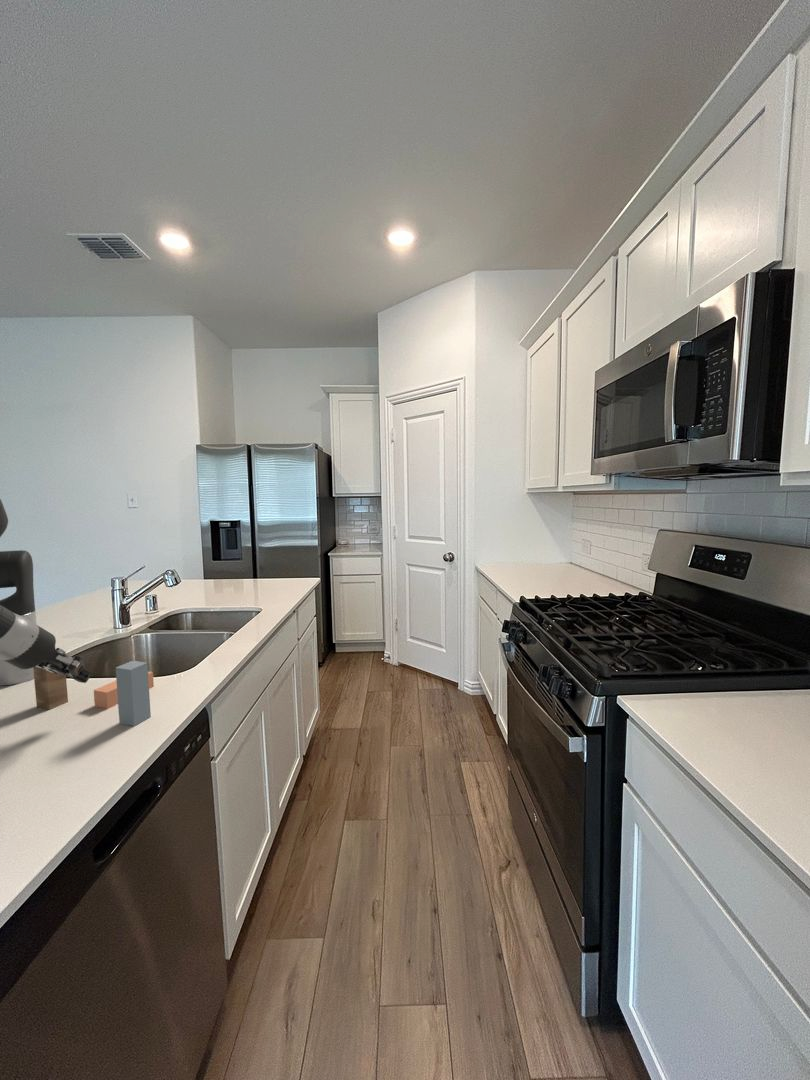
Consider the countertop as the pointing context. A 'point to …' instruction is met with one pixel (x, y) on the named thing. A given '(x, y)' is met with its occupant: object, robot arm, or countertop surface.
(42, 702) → the walnut pillar
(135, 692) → the slate pillar
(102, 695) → the terracotta pillar
